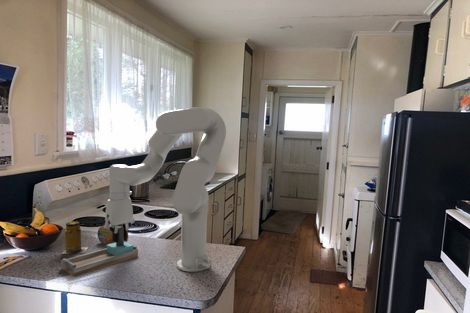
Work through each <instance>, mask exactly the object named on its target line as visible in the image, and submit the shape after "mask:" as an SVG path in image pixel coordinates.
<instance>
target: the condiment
mask: <svg viewBox="0 0 470 313" xmlns="http://www.w3.org/2000/svg"><path fill="white" fill-rule="evenodd" d="M80 224H81V222H79V221H73V220H72V221H69V222H66V224H65V230H64V236H65V237H64V239H65V240H64V241H65V242H64V244H65V245H64V247H65V250H64V251H63V252H62V253H61V254H62V255H64V254H65V255H70V254H72V255H73V254H85V252H86V251H87V250H88V249H89V247H88V246H85V247H84V246H83V247H82V229H81V225H80Z"/></svg>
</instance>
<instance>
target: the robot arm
mask: <svg viewBox="0 0 470 313" xmlns="http://www.w3.org/2000/svg"><path fill="white" fill-rule="evenodd" d="M155 127H156V131H154V133H153V134H152V136H151V137H150V139H148V146H149V148H150V149H149V152H148V154H147V156H146V157H145V159H144V160H143V161H142V162H141V163H140V164H136V165H130V166H129V165H127V164H112V165H110V166H109V169H108V170H109V172H108V173H109V175H108V176H109V178H108V180H109V199H107V202H106V205H105V215H104V221H105V223H104V225H103V226H104V228H106V229H109V230H110V231H111V232H112V240H113V242H116V243H118V242H119V233H117V230H118V226H121V227H124V240H125V241H126V240H127V231H129V228H130V227H131V225H132V224H134V223H135V218H134V210H133V202H132V199H131V197H130V196H131V195H132V193H133V192H132V191H131V190H130V186H134V187H135V186H137V185H138V186H139V185H141V184H144V183H148V182H149V181H150V180H152V179H153V178H154V177H155V176H156V175H157V173H158V172H159V170H161V168H162V166H163V165H164V163H165V161H166V160H167V159H166V158H167V156H168V153H169V152H170V151H171V150H172V148H173V146H175V145H176V143H177V142H178V141H179V139H180V138H181V137H182V136H183V135H184V134H191V133H192V134H193V133H199V132H200V133H201V132H203V134H202V138H201V139H200V141H199V145H198V148H197V150H196V154H195V156H194V158H192V159H189V160H188V161H186V163H185V164H183V167H182V169H181V171H180V174H179V176H178V180H177V183H176V186H175V189H174V192H173V196H172V206H173V208H174V210H175V211H176V212H177V213H178V214H180V215H181V222H180V223H181V224H180V228H181V229H180V230H181V231H180V232H181V234H180V237H181V238H180V239H181V240H180V242H181V243H180V248H181V249H180V259H178V260H177V262H176V267H177V269H178V270H180V271H183V272H187V273H188V272H190V273H196V272H202V271H206V270H207V269H209V268H211V265H213V261H212V260H209V255H208V254H207V226H208V225H207V224H208V220H207V219H208V208H209V207H208V206H209V200H210V198H209V192H208V190H207V188H206V187H205V185H206V183H208V182H210V181H211V180H212V179H213V178H214V176H215V174H216V170H217V166H218V163H219V160H220V158H221V154H222V153H221V152H222V151H223V150H222V149H224V148H223V147H224V145H225V141H226V135H227V127H226V124H225V121H224V118H222V116H221V115H220V113H218V112H217V111H216V110H214V109H212V108H208V107H201V106H196V107H195V106H194V107H190V108H183V109H175V110H169V111H164V112H161V113H160V114H159V115H158V116H157V118H156V120H155ZM109 225H111V226H109Z"/></svg>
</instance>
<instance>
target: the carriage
mask: <svg viewBox="0 0 470 313" xmlns="http://www.w3.org/2000/svg"><path fill="white" fill-rule="evenodd" d="M117 233H119V242H118V243H116V242H115V243H112V244H108V245H106V248H107V252H108V253H110V254H112V255H114V256H115V255H118V254H121V253H125V252H128V251H131V250H133V245H134V244H132V243H129V242H128V241H127V242H124V227H122V226H121V227H118V230H117Z"/></svg>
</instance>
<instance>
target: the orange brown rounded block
mask: <svg viewBox="0 0 470 313" xmlns="http://www.w3.org/2000/svg"><path fill="white" fill-rule="evenodd" d="M109 226H111V224H110V225H109ZM118 227H122V225H118ZM128 231H129V230H127V240H126V241H125V240H124V242H127V243H128V241H129V232H128ZM97 239H98V241H99V242H100V243H101V244H103V245H106V246H107V245H108V244H112V243H115V242H113V240H112V232H111V231H110V230H109V229H106V228H104V225H102V226H101V225H100V226H99V228H98V230H97Z"/></svg>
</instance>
